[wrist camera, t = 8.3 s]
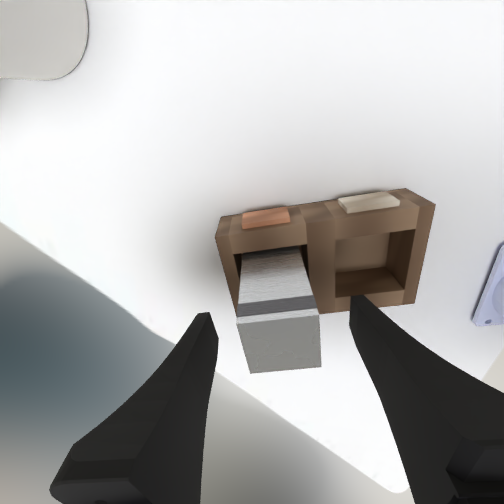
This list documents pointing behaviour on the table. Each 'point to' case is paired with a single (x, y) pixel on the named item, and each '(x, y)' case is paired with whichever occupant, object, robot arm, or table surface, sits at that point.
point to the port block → (339, 245)
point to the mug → (41, 38)
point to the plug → (277, 312)
